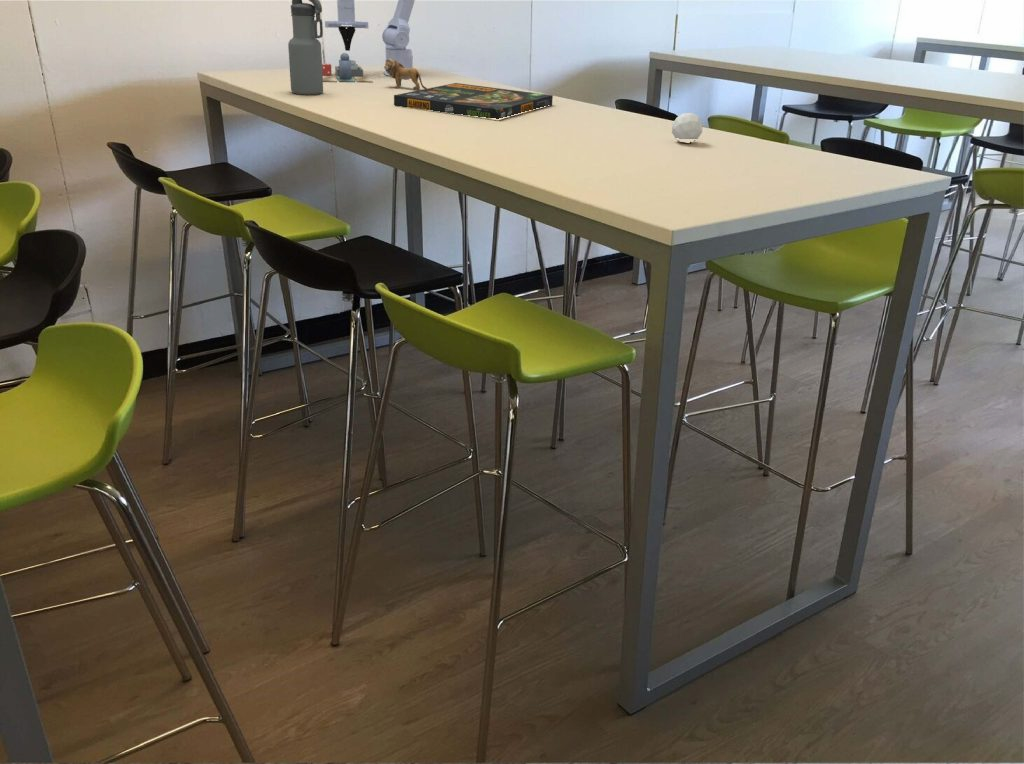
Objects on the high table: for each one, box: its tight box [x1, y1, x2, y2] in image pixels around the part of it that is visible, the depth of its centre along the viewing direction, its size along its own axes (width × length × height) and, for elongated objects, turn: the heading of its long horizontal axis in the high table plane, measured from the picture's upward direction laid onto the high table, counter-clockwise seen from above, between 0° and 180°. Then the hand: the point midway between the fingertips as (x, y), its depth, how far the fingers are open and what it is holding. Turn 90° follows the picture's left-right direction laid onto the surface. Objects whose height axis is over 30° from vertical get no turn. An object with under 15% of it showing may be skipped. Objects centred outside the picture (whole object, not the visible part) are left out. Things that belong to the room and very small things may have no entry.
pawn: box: [338, 52, 353, 80], centre depth 300 cm, size 4×4×8 cm
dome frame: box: [334, 65, 364, 78], centre depth 312 cm, size 9×9×2 cm
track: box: [323, 75, 374, 83], centre depth 302 cm, size 17×10×1 cm, turn 106°
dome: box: [350, 59, 359, 70], centre depth 311 cm, size 6×6×4 cm
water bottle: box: [287, 0, 324, 96], centre depth 268 cm, size 10×10×28 cm
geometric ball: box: [671, 112, 703, 140], centre depth 229 cm, size 8×8×8 cm
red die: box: [322, 63, 332, 76], centre depth 310 cm, size 4×4×4 cm
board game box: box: [393, 82, 554, 119], centre depth 267 cm, size 35×35×4 cm
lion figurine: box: [383, 59, 428, 91], centre depth 289 cm, size 15×5×9 cm, turn 74°
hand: (347, 50), depth 306 cm, fingers closed
